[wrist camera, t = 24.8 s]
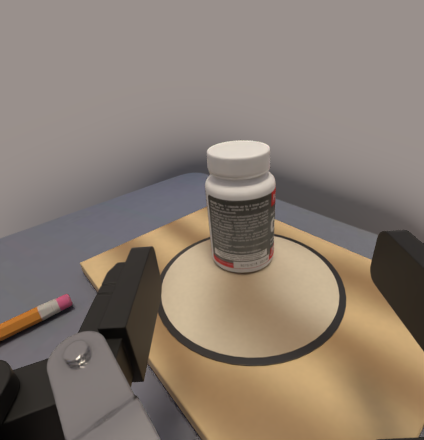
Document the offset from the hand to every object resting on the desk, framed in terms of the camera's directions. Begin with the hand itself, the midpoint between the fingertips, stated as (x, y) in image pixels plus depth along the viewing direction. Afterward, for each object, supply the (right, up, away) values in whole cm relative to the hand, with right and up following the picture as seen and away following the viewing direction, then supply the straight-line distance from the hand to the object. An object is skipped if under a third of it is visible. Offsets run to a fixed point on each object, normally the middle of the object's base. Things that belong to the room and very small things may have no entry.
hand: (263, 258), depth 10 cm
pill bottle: (+1, -1, +12) cm, 12 cm away
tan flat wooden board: (+1, -4, +10) cm, 10 cm away
